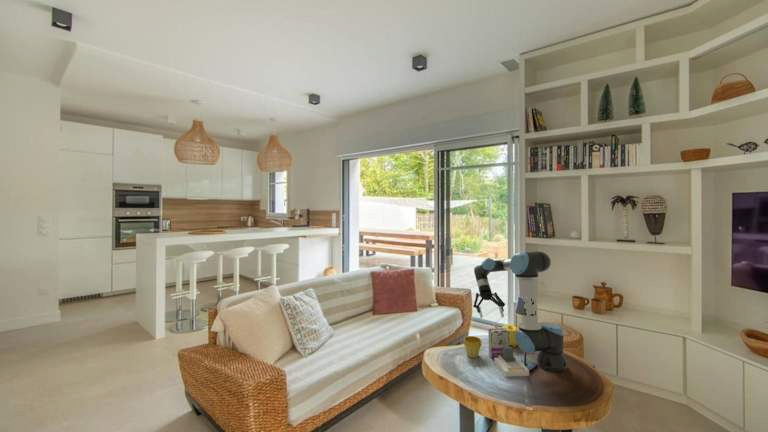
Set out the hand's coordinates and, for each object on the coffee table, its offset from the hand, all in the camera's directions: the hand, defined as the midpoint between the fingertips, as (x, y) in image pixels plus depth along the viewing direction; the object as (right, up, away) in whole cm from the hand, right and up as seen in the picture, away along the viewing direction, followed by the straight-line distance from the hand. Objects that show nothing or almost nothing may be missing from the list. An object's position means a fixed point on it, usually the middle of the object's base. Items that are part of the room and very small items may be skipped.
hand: (492, 317), depth 205 cm
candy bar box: (+1, -21, -9) cm, 23 cm away
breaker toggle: (+2, -18, -20) cm, 27 cm away
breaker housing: (+2, -21, -24) cm, 32 cm away
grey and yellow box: (+13, -20, +8) cm, 26 cm away
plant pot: (-14, -21, -7) cm, 26 cm away
